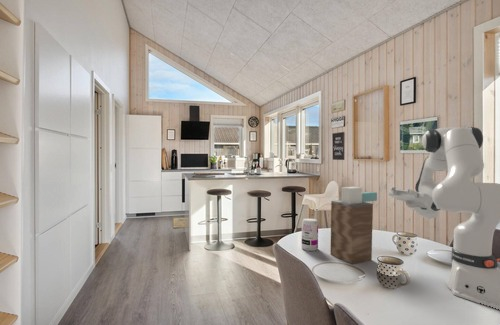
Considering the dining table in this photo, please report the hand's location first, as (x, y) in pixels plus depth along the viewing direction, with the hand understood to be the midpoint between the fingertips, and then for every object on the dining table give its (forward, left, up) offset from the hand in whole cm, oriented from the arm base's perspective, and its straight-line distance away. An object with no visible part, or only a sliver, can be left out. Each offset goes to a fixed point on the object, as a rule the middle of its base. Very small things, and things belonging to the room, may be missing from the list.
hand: (400, 189), depth 149 cm
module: (+4, +23, -5) cm, 24 cm away
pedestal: (+4, +29, -31) cm, 43 cm away
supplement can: (+22, +39, -31) cm, 54 cm away
